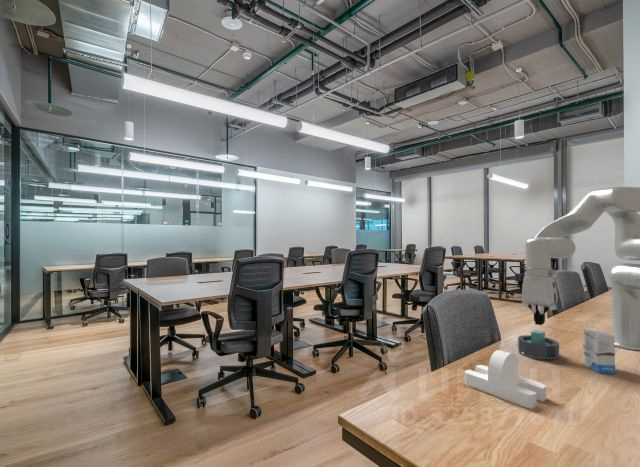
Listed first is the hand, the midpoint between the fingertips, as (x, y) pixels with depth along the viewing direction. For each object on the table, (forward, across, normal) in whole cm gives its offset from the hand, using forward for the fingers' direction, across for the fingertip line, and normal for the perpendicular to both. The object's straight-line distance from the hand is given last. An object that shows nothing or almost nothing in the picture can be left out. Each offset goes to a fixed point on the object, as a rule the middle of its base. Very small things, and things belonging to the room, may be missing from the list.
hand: (539, 324), depth 122 cm
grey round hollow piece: (+11, 0, +1) cm, 11 cm away
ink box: (+11, -17, 0) cm, 20 cm away
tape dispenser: (+10, -6, +40) cm, 42 cm away
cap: (+10, 0, +1) cm, 10 cm away
